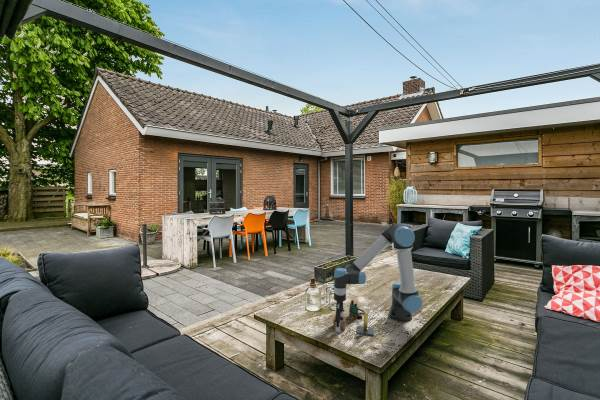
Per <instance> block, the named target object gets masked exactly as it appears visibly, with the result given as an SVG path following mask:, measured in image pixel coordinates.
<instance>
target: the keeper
mask: <svg viewBox="0 0 600 400" xmlns="http://www.w3.org/2000/svg"><path fill="white" fill-rule="evenodd" d="M363 313H364V314H363V325H357V330H356V334H357V335H361V336H362V335H363V336H371V337H374V335H375V327H374V326H373V327H372V326H369V325H368V323H369V321H368V320H369V313H368V312H367V311H364V312H363Z"/></svg>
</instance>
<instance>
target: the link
mask: <svg viewBox="0 0 600 400" xmlns="http://www.w3.org/2000/svg"><path fill="white" fill-rule="evenodd" d="M335 319H336V315H334V317H333V324H332V325H333V327H332V329H333V331H336V322H335V321H334V320H335ZM346 327H347V317H346V316H344V315H343V316H340V332H345V330H346Z"/></svg>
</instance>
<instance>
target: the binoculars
mask: <svg viewBox="0 0 600 400" xmlns="http://www.w3.org/2000/svg"><path fill="white" fill-rule="evenodd" d="M348 311H349V312H348V317H352V318H351V319H353V320H357V319H362V318H363V316H364V312H365V311H364V310H363V309H362V308H359V306H358V303H355V301H354V300H353V299H352V300H350V304H349V309H348ZM359 311H360V312H359Z"/></svg>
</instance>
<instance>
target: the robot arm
mask: <svg viewBox="0 0 600 400" xmlns="http://www.w3.org/2000/svg"><path fill="white" fill-rule="evenodd" d="M415 238H416V236H415V232H414V231H413V229H411V228H409V227H408V226H405V225H402V224H399V223H393V224H391V225H389V226H388V227H387V228H386V229H385V230H383V231H382V232H381V233H380V234H379V237H378V238H377V239H376V240H375V241H374V242H372V244H371V245H370V246H369V247H368V248H366V249H365V250H364V251H363V252H362V253H361V254H360V255H359V256H358V257H357V258H356V259H355V260H354V261H353V262H352V263H351V264H347V265H346V266H345V267H343V268H342V267H337V268H335V270H334V274H333V288H332V289H333V300H334V301H336V304H335V307H336V308H335V316H336V319H335V320H334V319H333V320H334V321H335V322H336V330H335V332H337V333H341V331H340V316H344V312H345V309H344V302H345V301H346V300H347V285H364V284H366V282H367V276H366V273H365V272H364V271H363V269H365V268H366V267H367V266H368V265H369V264H370V263H372V261H373V260H374V259H375V258H376V257H378V255H380V254H381V252H383V251H384V250H385V249H387V247H388V246H392V245H393V249H394V250H395V251H396V257H397V265H398V272H399V273H398V274H399V282H398V281H397V282H393V283H392V285H391V305H390V307H389V310H388V316H389V317H390V318H391V319H392V320H395V321H398V322H399V321H400V322H409V321H412V320H413V313H416V312H417V313H418V312H419V311H420V309H422V307H423V300H422V297H421V296H419V294H420V293H419V287H417V286H416V284H415V275H414V266H413V256H412V249H413V248H414V243H415V240H416V239H415Z"/></svg>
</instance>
